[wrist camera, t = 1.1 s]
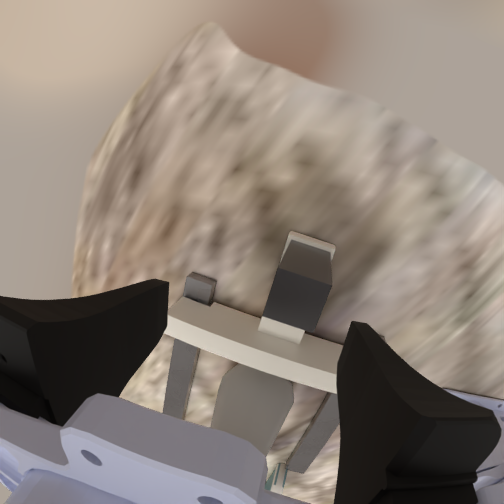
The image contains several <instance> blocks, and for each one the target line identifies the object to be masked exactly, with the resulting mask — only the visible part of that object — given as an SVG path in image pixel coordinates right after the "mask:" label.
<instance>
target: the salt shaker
mask: <svg viewBox="0 0 504 504" xmlns="http://www.w3.org/2000/svg"><path fill="white" fill-rule="evenodd" d="M293 403H294V396H293V388H292V384H291V382H290V380H288V379H284V378H281V377H278V376H275V375H272V374H269V373H266V372H263V371H260V370H257V369H255V368H252V367H249V366H246V365H243V364H240V363H239V364H237V365H236V366H234V367H233V368H232V369H231V370H230V371H228V372H227V373H226V374H225V375H224V376H223V378H222V381H221V384H220V387H219V390H218V394H217V399H216V404H215V408H214V413H213V418H212V422H211V427H210V428H214V429H217V430H221V431H225V432H228V433H230V434H232V435H235V436H237V437H240V438H242V439H245V440H248V441H249V442H250V443H251V444H252V445H253V446H255V447H256V448H257V449H258V450H259V451H260V452H261V453H262V454H264V455H265V456H267V454H268V452H269V450H270V448H271V446H272V444H273V442H274V440H275V439H276V437H277V435H278V433H279V431H280V429H281V427H282V425H283V423H284V421H285V419H286V417H287V415H288V413H289V411H290V409H291V407H292V405H293Z"/></svg>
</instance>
